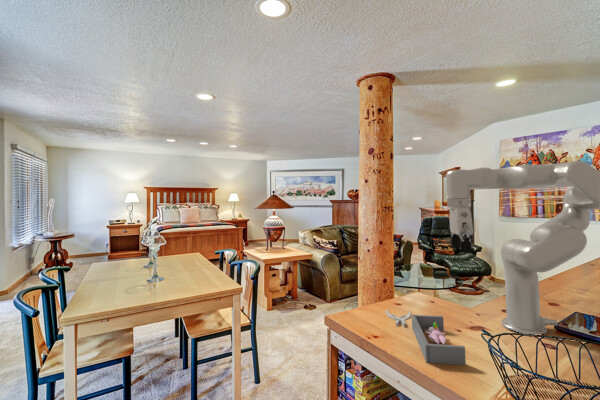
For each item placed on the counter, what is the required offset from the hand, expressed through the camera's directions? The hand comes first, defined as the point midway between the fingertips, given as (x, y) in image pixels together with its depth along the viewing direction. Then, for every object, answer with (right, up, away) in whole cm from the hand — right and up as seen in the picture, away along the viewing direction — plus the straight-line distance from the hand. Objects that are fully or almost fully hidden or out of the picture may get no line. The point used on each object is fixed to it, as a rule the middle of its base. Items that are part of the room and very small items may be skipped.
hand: (460, 250), depth 103 cm
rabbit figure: (-13, -29, -9) cm, 33 cm away
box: (-14, -29, -11) cm, 34 cm away
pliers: (-19, -30, +10) cm, 37 cm away
